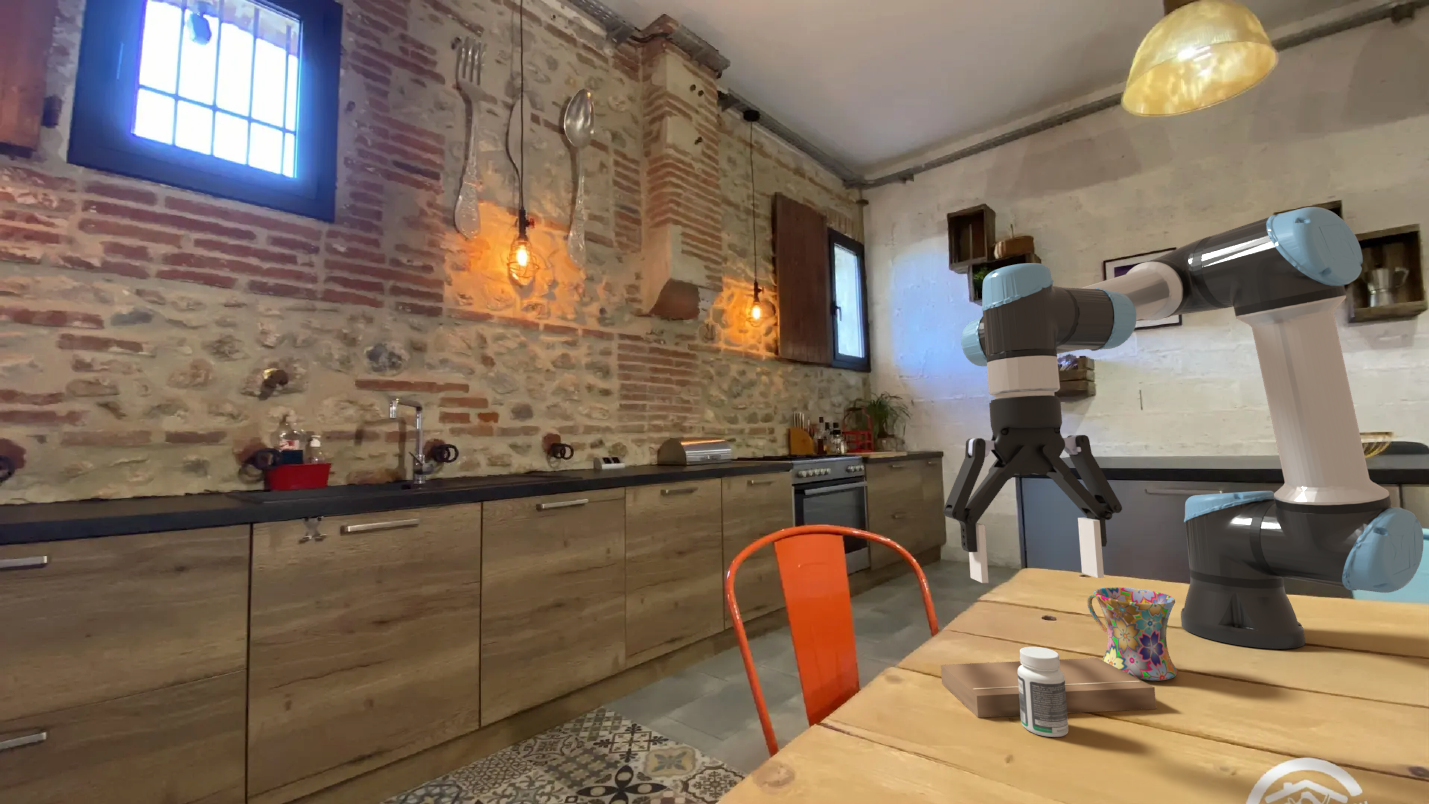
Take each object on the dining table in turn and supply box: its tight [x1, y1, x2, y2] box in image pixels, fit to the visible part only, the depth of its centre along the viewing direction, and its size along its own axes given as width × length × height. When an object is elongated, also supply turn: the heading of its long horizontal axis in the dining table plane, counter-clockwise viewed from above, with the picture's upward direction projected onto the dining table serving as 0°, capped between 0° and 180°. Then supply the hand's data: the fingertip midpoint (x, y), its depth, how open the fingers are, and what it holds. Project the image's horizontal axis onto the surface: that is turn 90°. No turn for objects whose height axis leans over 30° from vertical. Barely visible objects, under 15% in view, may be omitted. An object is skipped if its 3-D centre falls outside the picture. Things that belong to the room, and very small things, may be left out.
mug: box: [1086, 586, 1178, 681], centre depth 84 cm, size 12×9×11 cm
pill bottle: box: [1018, 646, 1069, 738], centre depth 67 cm, size 5×5×8 cm
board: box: [940, 657, 1157, 718], centre depth 76 cm, size 22×10×3 cm, turn 93°
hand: (1036, 578), depth 69 cm, fingers open, 13 cm apart
